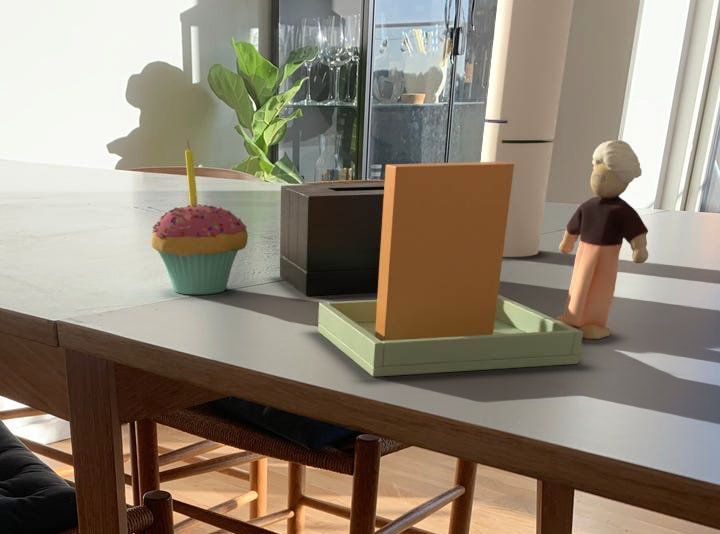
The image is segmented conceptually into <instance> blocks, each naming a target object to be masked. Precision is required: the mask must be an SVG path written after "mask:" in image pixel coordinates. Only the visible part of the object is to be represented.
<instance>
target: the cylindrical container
mask: <svg viewBox="0 0 720 534" xmlns="http://www.w3.org/2000/svg"><path fill="white" fill-rule="evenodd" d="M574 3H575V2H574V0H497V6H496V15H495V24H494V33H493V34H494V35H493V43H492V51H491V52H492V53H491V63H490V72H489V79H488V91H487V99H486V109H485V118H484V119H485V120H490V121H485V122H484V128H483V137H482V146H481V154H480V156H481V157H480V162H506V163H512V164H514V170H513V178H512V186H511V194H510V202H509V210H508V218H507V226H506V234H505V242H504V250H503V258H519V257H520V258H523V257H532V256H535V255H538V254H539V250H540V249H539V248H540V241H541V234H542V228H543V221H544V214H545V207H546V200H547V199H546V198H547V192H548V185H549V179H550V171H551V164H552V156H553V149H554V142H555V141H553V140H554V139H555V134H556V128H557V121H558V115H559V107H560V99H561V93H562V86H563V85H562V84H563V78H564V73H565V72H564V71H565V65H566V58H567V51H568V44H569V36H570V29H571V22H572V17H573V9H574Z"/></svg>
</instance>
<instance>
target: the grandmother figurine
mask: <svg viewBox="0 0 720 534" xmlns="http://www.w3.org/2000/svg"><path fill="white" fill-rule="evenodd" d="M591 163H592V166H593V168H592V169H593V171H592V173H591V176H590V188H591V190H592V192H593V193H594V194H595V195H596V196H593V197H590V198H589V199H588V200H586V201H584V202H583V203H581V204H580V205H579V206H578V208H577V209H576V210H575V212H574V213H573V215H572V216H571V218H570V219H569V221H568V223H567V224H566V229H565V232H564V234H563V237H562V239H563V240H562V241H561V242H560V244H559V245H558V246H559V247H558V249H559V251H560V253H562V254H563V255H564V254H565V255H568V254H570V253H572V252H573V251H574V248H575V243H576V242H578V239H579V240H580V241H579V242H578V248H577V250H576V255H575V259H574V266H573V272H572V276H571V281H570V286H569V290H568V295H567V299H566V303H565V306H564V307H565V308H564V313H563V314H564V316H559V317H556V318H554V319H555V320H558V321H560V322H562V323H565V324H567V325H569V326H571V327H574V328H576V329H578V330H581V331H583V337H582V339H587V340H598V339H603V338H606V337H609V336H610V335H611V330H610V328H609V326H607V324H608V320H609V316H610V311H611V306H612V302H613V299H614V295H615V291H616V284H617V283H616V282H617V278H618V271H619V270H618V268H619V258H620V252H621V249H622V246H623V241H624V240H625V241H626V242H627V243H628V244H629V245H630V249H631V251H632V261H633V262H634V263H635V264H643V263H645V262H646V261H647V260H648V258H649V251H648V249H647V245H648V240H647V234H648V233H649V229H648V228H647V226H646V225H645V223H644V221H643V220H642V218H641V216H640V215H639V213H638V212H637V211H636V209H635V208H634V207H633V206H632V205H631V204H629V203H628V201H626V200H624V199H623V198H622V197H620V196H621V195H622V194H623V193H624V192H625V191H626V190H627V188H628V186H629V185H630V184H631V183H632V182H633V181H634V179H638V178H639V177H641V176H642V173H643V171H642V168H641V163H640V162H639V157H638V156H637V154H636V153H635V151H634V149H633V148H632V147H631V145H630V144H629V143H628V142H626V141H625V140H619V139H616V140H615V139H614V140H608V141H605V142H602V143H601V144H599V145H598V146H597V147H596V148H595V149H594V152H593V154H592V161H591Z"/></svg>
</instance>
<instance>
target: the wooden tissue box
mask: <svg viewBox="0 0 720 534" xmlns="http://www.w3.org/2000/svg"><path fill="white" fill-rule="evenodd" d="M384 186H385V182H359V183H357V182H356V183H328V184H327V183H323V184H291V185H288V184H287V185H280V221H279V222H280V226H279V231H280V233H279V235H280V236H279V237H280V238H279V245H280V246H279V278H281V279H282V280H283V281H286V283H288V284H289V285H290V286H292V287H293V288H295V289H296V290H297V291H299V292H300V293H302V294H303V295H304V296H306V297H312V296H313V297H315V296H317V297H318V296H335V295H360V294H376V293H377V294H378V281H379V265H380V249H381V233H382V217H383V201H384Z"/></svg>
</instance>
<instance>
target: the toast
mask: <svg viewBox="0 0 720 534" xmlns="http://www.w3.org/2000/svg"><path fill="white" fill-rule="evenodd" d="M513 170H514V164H512V163H506V162H481V161H473V162H471V161H470V162H469V161H468V162H467V161H466V162H437V163H433V162H431V163H395V164H393V163H391V164H390V163H389V164H385V169H384V171H385V172H384V183H385V186H384V201H383V217H382V233H381V249H380V265H379V281H378V293H377V297H376V300H377V312H376V328H375V337H376V338H377V339H379V340H380V341H390V340H407V339H425V338H443V337H460V336H478V335H493V330H494V322H495V314H496V306H497V298H498V295H499V289H500V281H501V272H502V264H503V258H504V257H503V250H504V242H505V234H506V226H507V218H508V210H509V202H510V194H511V186H512V178H513Z"/></svg>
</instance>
